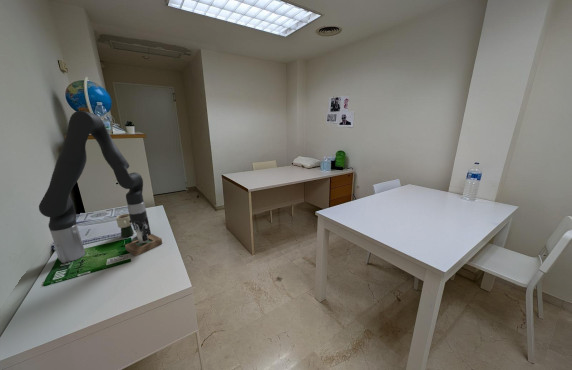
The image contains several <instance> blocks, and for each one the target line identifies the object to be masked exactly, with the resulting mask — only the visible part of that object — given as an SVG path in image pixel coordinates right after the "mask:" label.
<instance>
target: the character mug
mask: <svg viewBox="0 0 572 370" xmlns="http://www.w3.org/2000/svg"><path fill="white" fill-rule="evenodd" d="M115 219H116V223H117V227H118V228H119V229H120V236H121V237H122V238H123V237H124V238H125V237H131V236H133V235H134V234H135V233H134V228H133V225H132V222H131V220H130V217H129V213H123V214H119V215H117V216H116V217H115Z"/></svg>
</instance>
